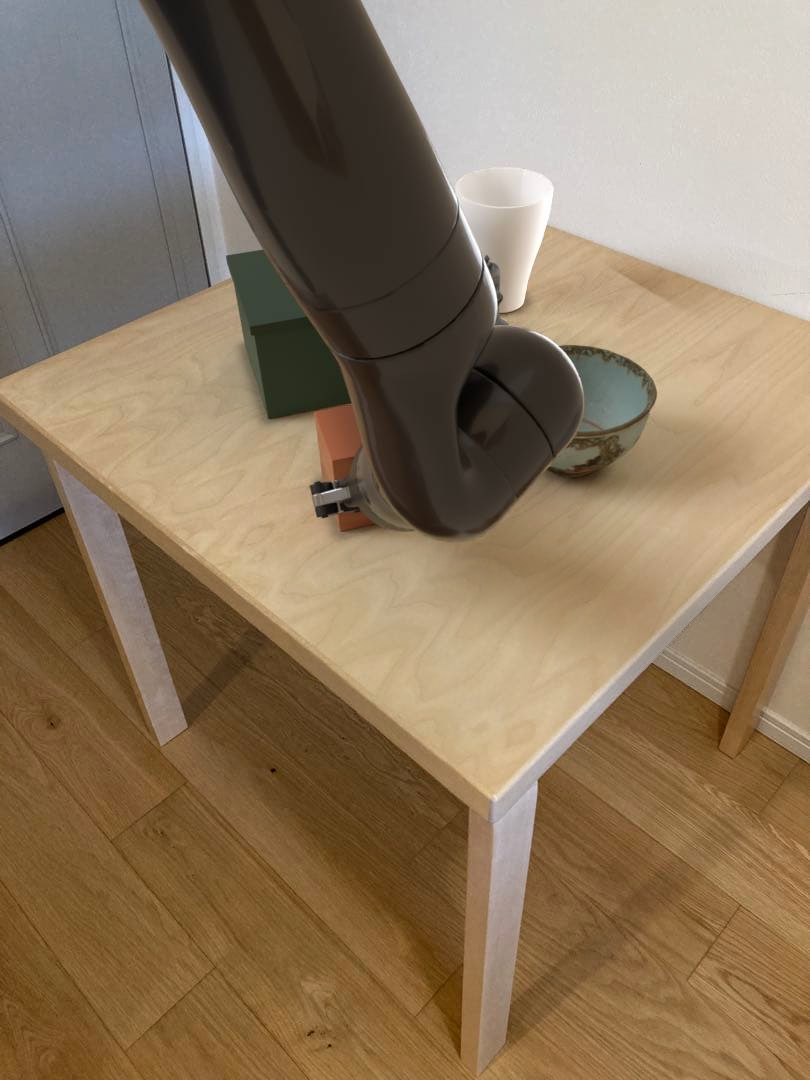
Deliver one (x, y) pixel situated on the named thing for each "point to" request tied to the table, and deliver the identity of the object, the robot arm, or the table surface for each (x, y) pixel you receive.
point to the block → (339, 453)
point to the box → (282, 342)
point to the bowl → (606, 410)
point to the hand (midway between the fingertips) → (377, 493)
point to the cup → (507, 222)
